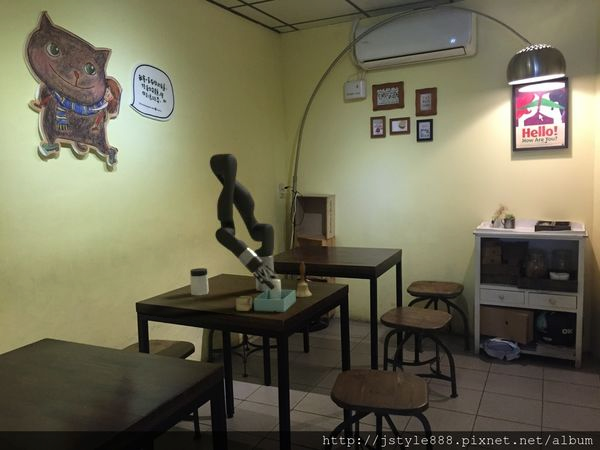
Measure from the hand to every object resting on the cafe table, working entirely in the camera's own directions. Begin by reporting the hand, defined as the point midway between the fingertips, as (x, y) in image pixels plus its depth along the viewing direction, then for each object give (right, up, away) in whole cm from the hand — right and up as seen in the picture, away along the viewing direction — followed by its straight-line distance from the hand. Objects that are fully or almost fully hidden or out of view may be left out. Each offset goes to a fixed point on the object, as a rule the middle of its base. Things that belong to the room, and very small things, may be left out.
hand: (276, 286), depth 209 cm
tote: (0, -8, -3) cm, 9 cm away
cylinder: (0, -7, +1) cm, 7 cm away
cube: (-14, -9, -6) cm, 17 cm away
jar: (-39, -7, +25) cm, 47 cm away
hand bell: (+12, -6, +14) cm, 19 cm away
